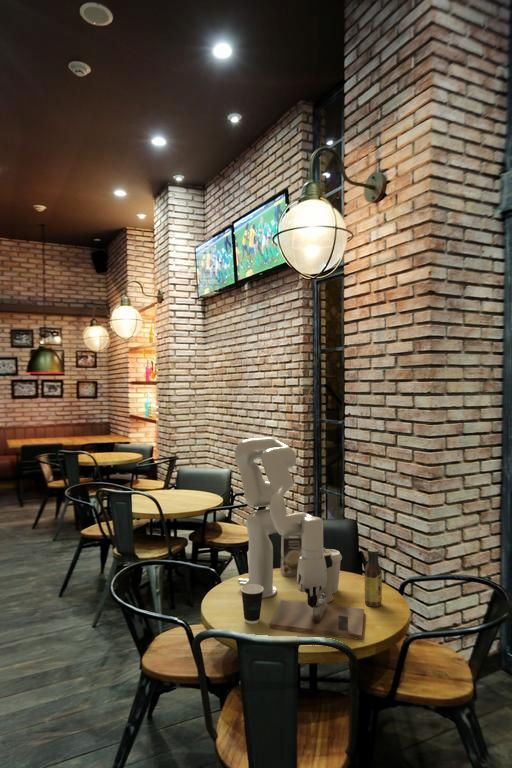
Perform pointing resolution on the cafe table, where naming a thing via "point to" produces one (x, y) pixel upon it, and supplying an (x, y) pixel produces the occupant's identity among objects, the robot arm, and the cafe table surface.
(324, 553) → the travel mug
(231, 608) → the cafe table surface
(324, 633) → the jamb plate
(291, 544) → the coffee box
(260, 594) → the dixie cup
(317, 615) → the bar
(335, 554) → the coffee cup
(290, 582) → the cafe table surface
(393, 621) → the cafe table surface
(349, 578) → the cafe table surface
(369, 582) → the sauce bottle
